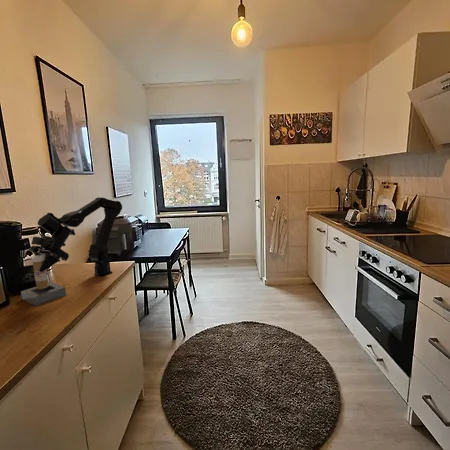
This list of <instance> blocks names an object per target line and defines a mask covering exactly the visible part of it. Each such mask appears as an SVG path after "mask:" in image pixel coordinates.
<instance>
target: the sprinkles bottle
mask: <svg viewBox="0 0 450 450" xmlns="http://www.w3.org/2000/svg"><path fill="white" fill-rule="evenodd" d="M44 260H45V256H44V255H38V256H35V255H33V256H32V257H31V262H32V268H33V267H34V271H33V274H34V281H35V284H36V286H35V287H36V288H37V289H44V288H47V287H48V286H49V284H48V283H49V279H48V278H49V277H48V271H47V270H48V269H46V270H44V271H43V272H40V271H39V270H40V268H41V266H42V264H43V262H44Z"/></svg>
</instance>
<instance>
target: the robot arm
mask: <svg viewBox="0 0 450 450" xmlns="http://www.w3.org/2000/svg"><path fill="white" fill-rule="evenodd" d="M100 208H102V209H103V211H104V218H103V221H102V224H101V227H100V230H99V234H98V237H97V241H96V242H95V243H94V244H90V247H89V250H88V251H87V252H88V257H89V259H90V260H91V262H92V263H93V264H94V275H95V276H98V277H104V276H107V275H110V274H112V273H113V271H111V264H110V263H111V262H112V261H113V257H112V256H111V255H109V254H108V252H109V249H108V242H109V239H110V236H111V232H112V229H113V225H114V223H115V219H116V218H117V217H118V216H119V215H120V213H121V211H122V209H123V204H122V203H121V201H119V200H112V199H108V198H105V197H95V199H93V200H92V201H90V202H89V203H87V204H86V205H84V206H82V207H80V208H79V209H77V210H74V211H69V212H67V213H65V214H63V215H62V216H61V217H59V218H58V217H57V216H55V214H54V213H52V212H47V213H46V214H45V215H43V216H41V217H40V218H39V219H38V222H37V225H38V226H39V227H41V228H42V229H44V230H45V231H46V232H47V233H50V234H51V233H52V235H51V236H49V235H44V236H43V237H39V236H33V237H32V240H31V246H30V248H29V249H28V251H30V252H31V253H33V255H34V256H38V255H44V256H45V260H44V262H43V264H42V266H41V268H40V270H39V271H40V272H43V271H44V270H48V269H49V268H50V267H52V266H53V265H55V264H57V263H59V262H61V261H65V262H66V261H68V260H69V258H70V255H69V253H68V252H67V251H65V250H63V249H62V247H66V245H67V244H66V241H67V240H68V238H69V237H70V236H76V232H75V229H74V228H77V227H79V226H80V225H81V224H82V223H83V222H84V220H85V219H86V218H87V217H88V216H90V215H91V214H92V213H94V212H95V211H97V210H98V209H100ZM32 271H33V272H34V267H33V266H32Z"/></svg>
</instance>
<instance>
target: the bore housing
mask: <svg viewBox="0 0 450 450" xmlns="http://www.w3.org/2000/svg"><path fill="white" fill-rule="evenodd" d="M48 284H49V286H48V287H47V288H44V289H37V288H36V286H34V287H31V288H27V289H24V290H21V291H20V294H21V300H22V299H23V301H24V300H25V301H24V302H26V303H27V304H30V305H32V306H34V307H37V306H40V305H42V304H45V303H48V302H52V301H53V300H56V299H59V298H63V297H65V296H67V289H66V287H65V286H63V285H60V284H57V283H55V282H53V281H51V282H48Z"/></svg>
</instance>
